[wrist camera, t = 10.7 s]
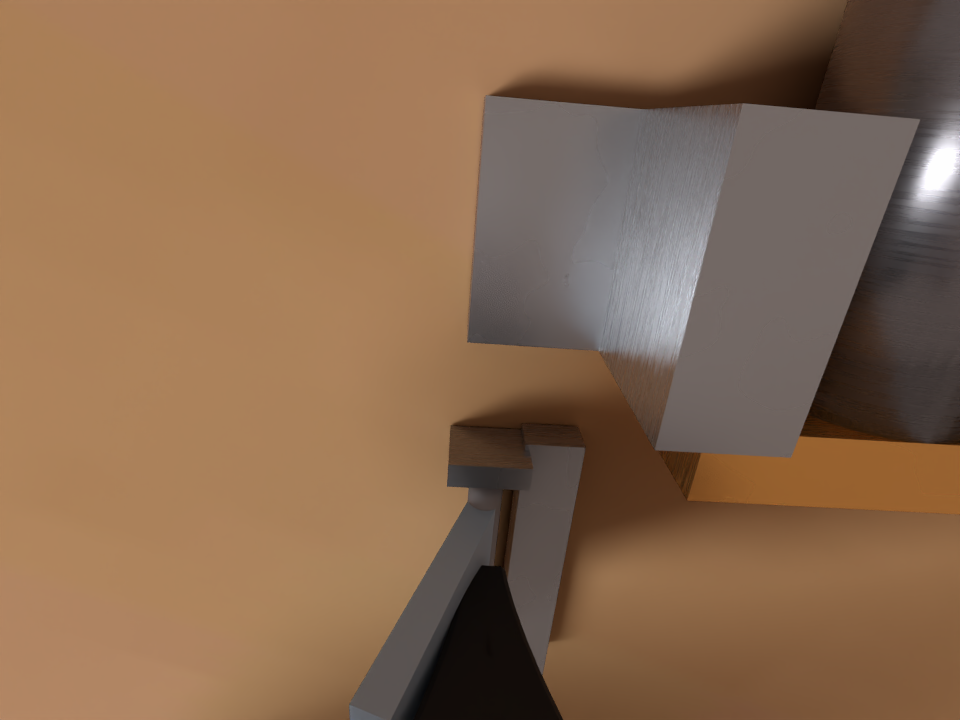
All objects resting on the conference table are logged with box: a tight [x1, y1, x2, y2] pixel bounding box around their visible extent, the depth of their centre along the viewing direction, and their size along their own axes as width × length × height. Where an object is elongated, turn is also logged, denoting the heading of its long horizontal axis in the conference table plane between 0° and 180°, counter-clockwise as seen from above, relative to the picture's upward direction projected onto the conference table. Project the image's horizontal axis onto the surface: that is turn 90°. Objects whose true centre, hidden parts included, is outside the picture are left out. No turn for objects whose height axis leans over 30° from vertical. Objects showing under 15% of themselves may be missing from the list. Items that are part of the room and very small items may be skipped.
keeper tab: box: [349, 488, 503, 720], centre depth 10 cm, size 5×1×5 cm, turn 176°
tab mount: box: [447, 423, 585, 675], centre depth 12 cm, size 7×3×1 cm, turn 176°
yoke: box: [467, 95, 920, 458], centre depth 8 cm, size 4×13×4 cm, turn 85°
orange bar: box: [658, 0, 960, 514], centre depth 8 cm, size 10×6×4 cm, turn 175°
